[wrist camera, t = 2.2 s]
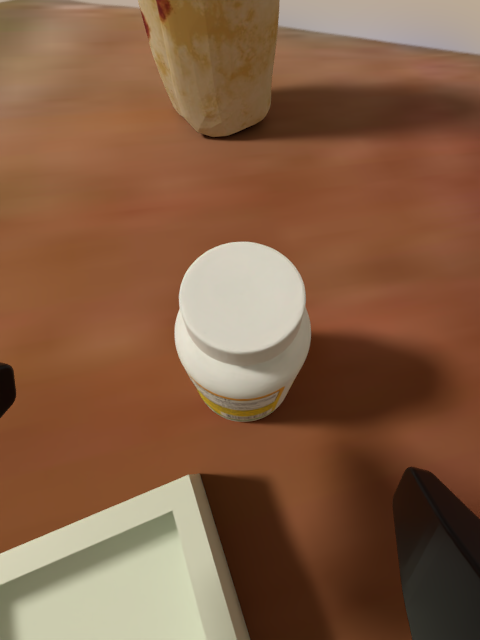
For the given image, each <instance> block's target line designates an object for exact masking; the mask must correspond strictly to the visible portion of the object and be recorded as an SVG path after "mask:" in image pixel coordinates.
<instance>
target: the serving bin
mask: <svg viewBox="0 0 480 640" xmlns="http://www.w3.org/2000/svg"><path fill="white" fill-rule="evenodd" d="M0 640H250V636H249V633H248V630H247V627H246V623H245V620H244V617H243V613H242V610H241V607H240V604H239V600H238V597H237V594H236V591H235V587H234V584H233V581H232V577H231V574H230V571H229V568H228V564H227V561H226V558H225V554H224V551H223V548H222V545H221V541H220V538H219V535H218V532H217V528H216V525H215V522H214V518H213V515H212V512H211V509H210V505H209V502H208V499H207V495H206V492H205V489H204V486H203V482H202V479H201V476H200V474H191V475H187V476H184V477H182V478H180V479H177V480H175V481H173V482H170V483H168V484H165V485H163V486H161V487H158V488H156V489H153V490H151V491H149V492H146V493H144V494H142V495H139V496H137V497H134V498H132V499H130V500H127V501H125V502H123V503H120V504H118V505H115V506H113V507H111V508H108V509H106V510H103V511H101V512H99V513H96V514H94V515H92V516H89V517H87V518H84V519H82V520H80V521H77V522H75V523H72V524H70V525H68V526H65V527H63V528H61V529H58V530H56V531H53V532H51V533H49V534H46V535H44V536H42V537H39V538H37V539H34V540H32V541H30V542H27V543H25V544H22V545H20V546H18V547H15V548H13V549H11V550H8V551H6V552H3V553H1V554H0Z"/></svg>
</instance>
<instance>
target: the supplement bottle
mask: <svg viewBox="0 0 480 640" xmlns="http://www.w3.org/2000/svg"><path fill="white" fill-rule="evenodd" d="M305 304H306V293H305V287H304V283H303V280H302V278H301V276H300V274H299V272H298V271H297V269H296V267H295V266H294V265H293V264H292V262H291V261H290V260H288V259H287V258H286V257H285V256H284V255H282V254H281V253H279V252H278V251H276V250H274V249H272V248H270V247H267V246H265V245H261V244H258V243H253V242H232V243H227V244H223V245H220V246H217V247H215V248H213V249H210V250H208V251H207V252H205V253H204V254H202V255H201V256H200V257H199V258H197V259H196V261H194V262H193V264H192V265H191V266H190V267H189V269H188V270H187V272H186V274H185V275H184V278H183V280H182V283H181V287H180V293H179V305H180V310H179V312H178V315H177V319H176V324H175V344H176V349H177V352H178V356H179V358H180V360H181V363H182V364H183V366H184V368H185V370H186V372H187V373H188V375H189V377H190V378H191V380H192V382H193V383H194V385H195V387H196V388H197V390H198V392H199V394H200V396H201V397H202V399H203V400H204V402H205V403H206V404H207V405H208V407H209V408H210V409H211V410H213V411H214V412H215V413H217V414H218V415H220V416H222V417H224V418H226V419H229V420H232V421H239V422H249V421H255V420H258V419H261V418H263V417H265V416H267V415H269V414H271V413H272V412H273V411H274V410H275V409H277V408H278V407H279V405H280V404H281V403H282V402H283V400H284V398H285V397H286V395H287V393H288V391H289V389H290V387H291V386H292V384H293V382H294V380H295V378H296V376H297V375H298V373H299V371H300V369H301V368H302V366H303V364H304V362H305V359H306V357H307V354H308V351H309V347H310V341H311V325H310V320H309V316H308V313H307V310H306V308H305Z"/></svg>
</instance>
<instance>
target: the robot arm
mask: <svg viewBox="0 0 480 640" xmlns="http://www.w3.org/2000/svg"><path fill="white" fill-rule="evenodd" d="M15 398H16V388H15V379H14V371H13V368H12V367H11V366H10V365H8V364H5V363H1V362H0V418H1V417H2V415H3V414H4V413H5V412H6V411H7V410H8V409H9V408H10V407H11V405H12V404H13V402H14V401H15ZM393 515H394V524H395V533H396V541H397V550H398V559H399V568H400V577H401V584H402V591H403V596H404V601H405V607H406V611H407V616H408V621H409V626H410V630H411V635H412V640H480V519H479V518H478V517H477V516H476V515H475V514H474V513H473V512H472V511H471V510H470V509H469V508H468V507H466V506H465V505H464V504H463V503H462V502H461V501H460V500H459V499H458V498H457V497H456V496H455V495H454V494H453V493H452V492H451V491H450V490H449V489H448V488H447V487H446V486H445V485H444V484H443V483H442V482H441V481H440V480H439V479H438V478H437V477H436V476H435V475H434V474H432V473H431V472H429V471H427V470H423V469H419V468H415V467H409V468H407V469H406V470H405V472H404V474H403V476H402V478H401V480H400V483H399V485H398V487H397V489H396V491H395V494H394V497H393Z"/></svg>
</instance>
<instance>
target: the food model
mask: <svg viewBox="0 0 480 640" xmlns="http://www.w3.org/2000/svg"><path fill="white" fill-rule="evenodd" d="M138 2H139V6H140V10H141V14H142V18H143V21H144V25H145V29H146V33H147V36H148V40H149V43H150V47H151V51H152V54H153V57H154V59H155V62H156V65H157V68H158V71H159V73H160V76H161V79H162V81H163V84H164V86H165V88H166V91H167V93H168V95H169V98H170V100H171V102H172V105H173V107H174V108H175V110H176V111H177V112H178V113H179V114H180V115H181V116H183V117H184V118H185V119H186V120H187V122H188V123H189V124H190V125H191V126H192V127H193V128H194V129H195V130H196V131H197V132H198V133H202V134H205V135H208V136H211V137H219V136H228V135H231V134H233V133H236V132H238V131H241V130H243V129H245V128H247V127H250V126H252V125H255V124H257V123H258V122H260V121H261V120H263V119H264V118H265V116H266V115H267V113H268V111H269V108H270V105H271V83H272V72H273V65H274V57H275V49H276V42H277V34H278V18H279V0H138Z"/></svg>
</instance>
